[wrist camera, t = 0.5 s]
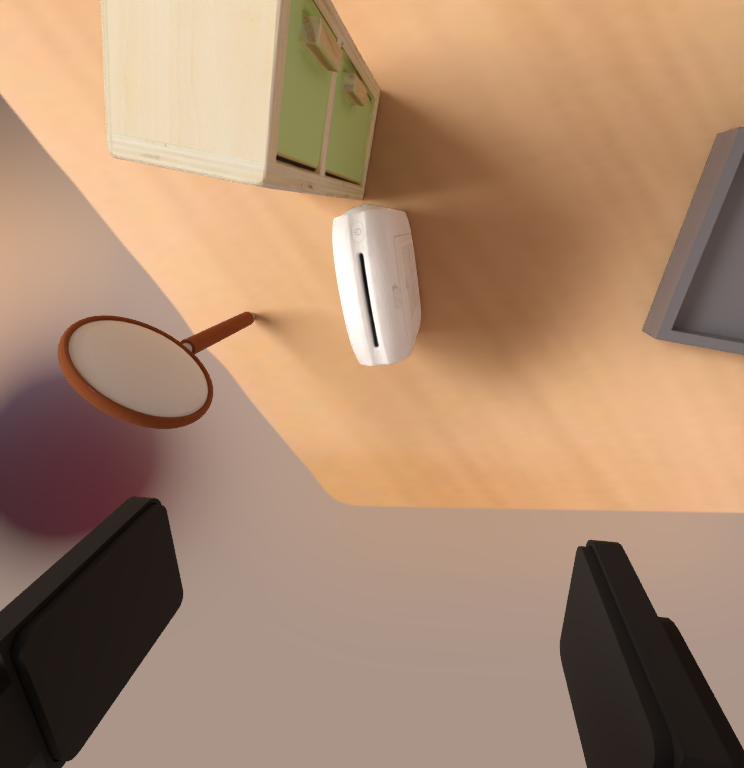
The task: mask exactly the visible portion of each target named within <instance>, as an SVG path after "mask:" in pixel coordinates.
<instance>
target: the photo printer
mask: <svg viewBox="0 0 744 768" xmlns="http://www.w3.org/2000/svg"><path fill="white" fill-rule="evenodd" d="M332 242H333V252H334V261H335V269H336V276H337V282H338V288H339V294H340V299H341V304H342V310H343V314H344V319H345V323H346V327H347V331H348V335H349V339H350V342H351V345H352V348H353V351H354V353H355V355H356V357H357V359H358V361H359V363H361V364H362V365H365V366H375V365H388V364H393V363H396V362H399V361H402V360H404V359H406V358H407V357H409V356H410V354H411V352H412V349H413V346H414V343H415V340H416V337H417V334H418V331H419V328H420V323H421V306H420V295H419V286H418V277H417V270H416V262H415V254H414V248H413V241H412V235H411V229H410V225H409V221H408V218H407V215H406V213H405V212H404V211H399V210H395V209H391V208H385V207H381V206H376V205H371V204H364V205H360V206H356V207H353V208H351V209H350V210H348V211H347V212H346V213H345V214H344V215H342V216H339V217H336V218H334V219H333V230H332Z"/></svg>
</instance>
